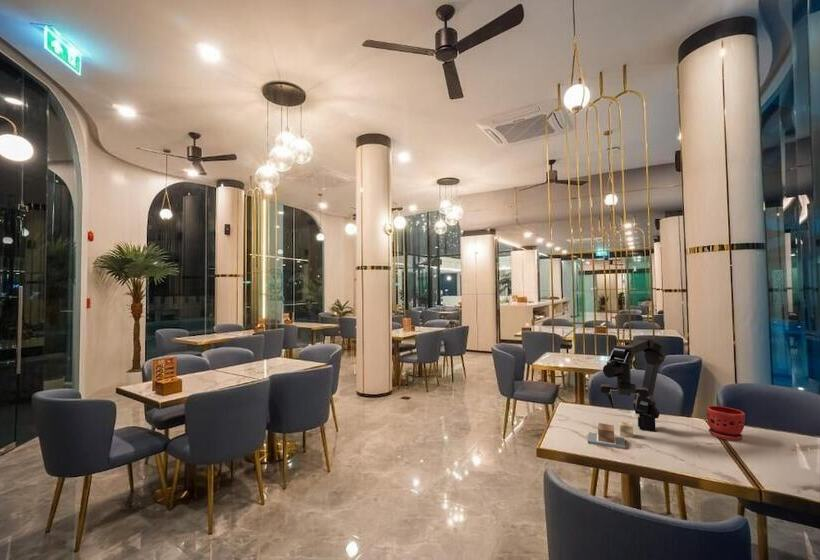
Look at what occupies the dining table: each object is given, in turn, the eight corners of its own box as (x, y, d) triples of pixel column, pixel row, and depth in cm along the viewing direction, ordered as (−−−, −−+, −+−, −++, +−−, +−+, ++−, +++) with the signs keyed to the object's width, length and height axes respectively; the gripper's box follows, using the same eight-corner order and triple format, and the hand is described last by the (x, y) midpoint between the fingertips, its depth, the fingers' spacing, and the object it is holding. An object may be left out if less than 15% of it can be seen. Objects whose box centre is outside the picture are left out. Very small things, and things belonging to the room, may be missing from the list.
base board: (624, 439, 167) (624, 436, 167) (625, 449, 158) (625, 446, 158) (588, 434, 174) (588, 431, 174) (587, 443, 164) (587, 440, 164)
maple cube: (632, 434, 174) (632, 423, 174) (633, 438, 169) (632, 426, 169) (619, 432, 176) (619, 421, 176) (620, 436, 172) (619, 425, 172)
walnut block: (614, 436, 168) (613, 425, 168) (614, 443, 161) (614, 431, 161) (598, 434, 170) (598, 423, 171) (598, 440, 163) (598, 429, 163)
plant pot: (747, 445, 161) (746, 416, 161) (707, 437, 169) (706, 410, 169) (744, 435, 171) (743, 408, 171) (707, 429, 179) (706, 403, 179)
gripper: (599, 376, 170) (601, 412, 169) (649, 380, 161) (650, 418, 161) (600, 371, 180) (601, 404, 179) (647, 374, 171) (648, 409, 171)
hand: (624, 409), depth 172 cm, fingers open, 9 cm apart
